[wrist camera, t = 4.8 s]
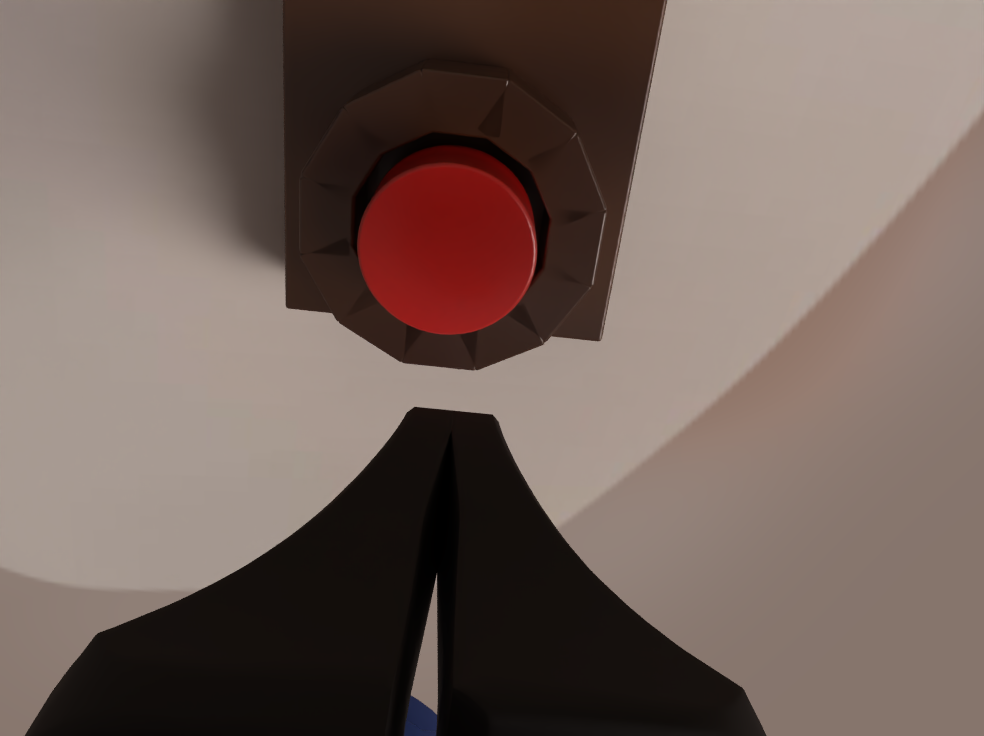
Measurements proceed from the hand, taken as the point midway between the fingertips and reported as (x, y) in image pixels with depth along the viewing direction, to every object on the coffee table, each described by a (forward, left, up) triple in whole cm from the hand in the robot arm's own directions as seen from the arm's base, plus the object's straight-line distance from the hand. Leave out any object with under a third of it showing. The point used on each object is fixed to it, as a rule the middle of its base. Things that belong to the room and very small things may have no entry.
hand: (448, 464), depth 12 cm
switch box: (+4, 0, -10) cm, 11 cm away
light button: (+2, 0, -6) cm, 7 cm away
